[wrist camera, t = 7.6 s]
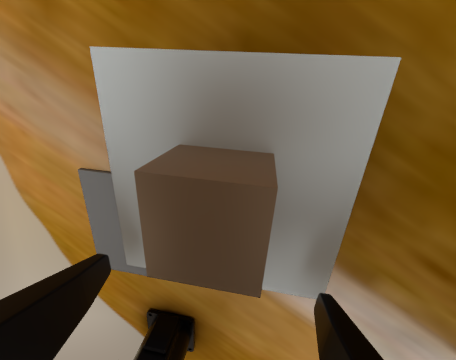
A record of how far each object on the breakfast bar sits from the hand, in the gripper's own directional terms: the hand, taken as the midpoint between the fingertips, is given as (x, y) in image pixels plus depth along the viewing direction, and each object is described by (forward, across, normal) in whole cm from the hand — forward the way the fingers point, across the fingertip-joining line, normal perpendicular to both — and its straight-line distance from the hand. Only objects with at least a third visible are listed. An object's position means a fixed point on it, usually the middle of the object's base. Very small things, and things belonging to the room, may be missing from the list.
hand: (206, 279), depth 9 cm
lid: (+3, 0, -3) cm, 4 cm away
